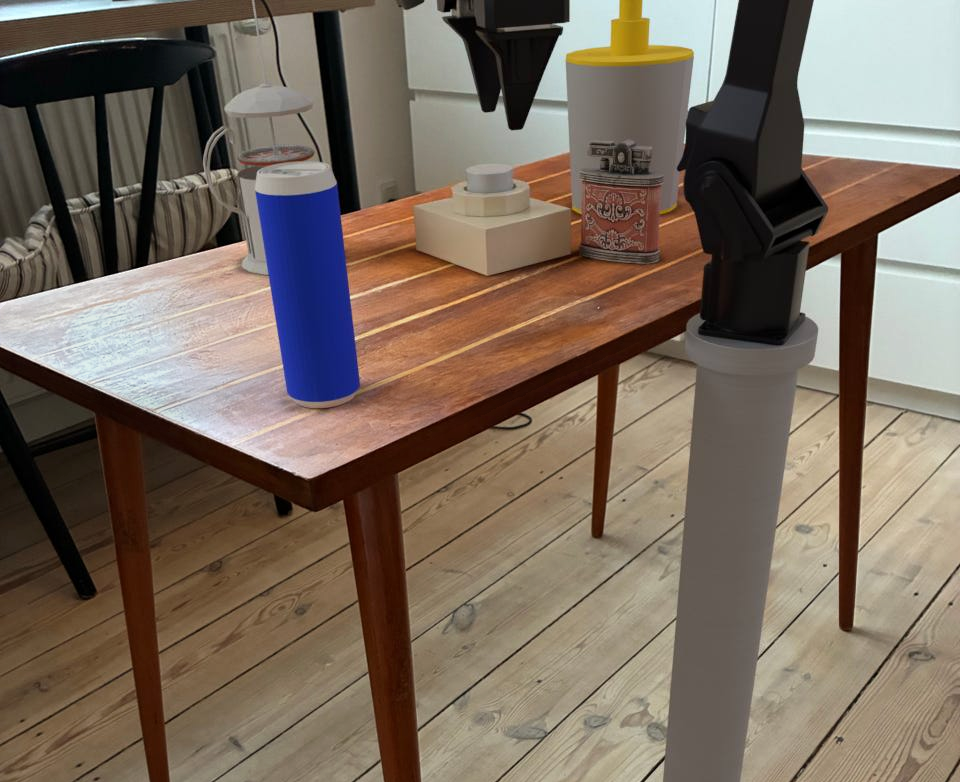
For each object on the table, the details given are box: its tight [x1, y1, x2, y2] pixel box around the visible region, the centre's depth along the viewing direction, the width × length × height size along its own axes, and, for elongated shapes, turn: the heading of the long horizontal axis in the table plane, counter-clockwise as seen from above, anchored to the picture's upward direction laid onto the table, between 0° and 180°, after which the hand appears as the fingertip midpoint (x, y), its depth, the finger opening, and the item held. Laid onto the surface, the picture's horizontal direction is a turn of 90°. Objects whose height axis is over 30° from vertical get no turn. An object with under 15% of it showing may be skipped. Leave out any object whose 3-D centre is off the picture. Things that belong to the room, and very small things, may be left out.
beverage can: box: [255, 160, 361, 409], centre depth 69 cm, size 5×5×15 cm
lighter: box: [578, 140, 664, 265], centre depth 95 cm, size 8×3×10 cm, turn 58°
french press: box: [202, 0, 315, 276], centre depth 94 cm, size 10×12×25 cm
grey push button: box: [465, 163, 514, 194], centre depth 97 cm, size 4×4×2 cm
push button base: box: [412, 178, 572, 277], centre depth 100 cm, size 12×10×6 cm
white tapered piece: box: [565, 0, 695, 215], centre depth 108 cm, size 13×13×21 cm
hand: (501, 120), depth 84 cm, fingers open, 9 cm apart
